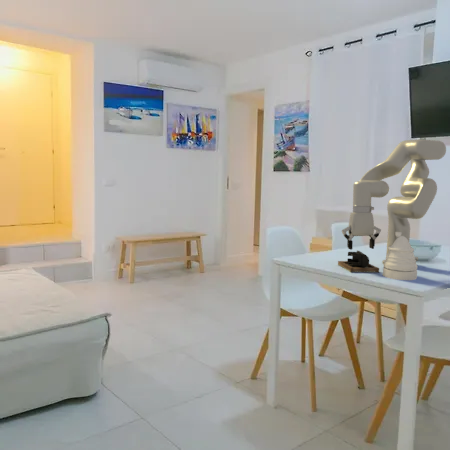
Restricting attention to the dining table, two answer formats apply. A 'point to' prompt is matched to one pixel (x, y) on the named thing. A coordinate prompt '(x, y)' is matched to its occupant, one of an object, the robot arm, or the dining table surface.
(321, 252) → the dining table surface
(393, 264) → the honey pot
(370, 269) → the pocket tray
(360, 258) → the end cap
